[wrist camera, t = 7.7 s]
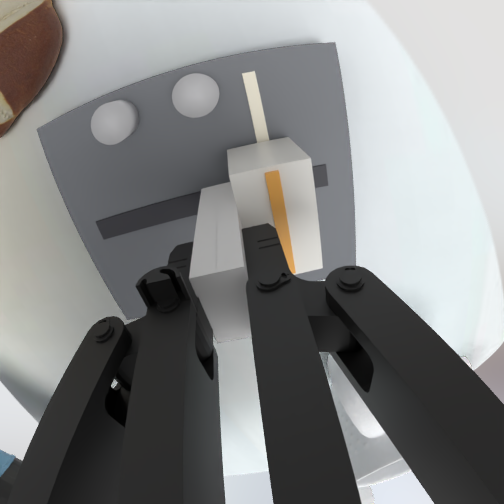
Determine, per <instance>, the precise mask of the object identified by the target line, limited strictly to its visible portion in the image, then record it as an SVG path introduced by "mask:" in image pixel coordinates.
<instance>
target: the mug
mask: <svg viewBox="0 0 504 504" xmlns="http://www.w3.org/2000/svg"><path fill="white" fill-rule="evenodd" d="M327 365H328V370H329V374H330V377H331V380H332V385H331V393H332V397H333V400H334V404H335V407H336V411H337V414H338V417H339V421H340V424H341V428H342V431H343V435H344V439H345V442H346V446H347V449H348V453H349V457H350V460H351V464H352V468H353V472H354V475H355V479H356V483H357V487H358V488H359V487H365V486H370V485H374V484H378V483H381V482H385V481H388V480H391V479H393V478H396V477H399V476H401V475H404V474H406V473H408V472H410V471H412V470H411V469H410V467H409V466H408V465H407V463H406V462H405V460H404V459H403V457H402V456H401V455H400V453H399V452H398V450H397V449H396V447H395V446H394V444H393V443H392V442H391V440H390V439H389V437H388V436H387V434H386V433H385V432H384V430H383V429H382V427H381V426H380V424H379V423H378V422H377V420H376V419H375V417H374V416H373V414H372V413H371V412H370V410H369V409H368V407H367V406H366V404H365V403H364V402H363V400H362V399H361V397H360V396H359V394H358V393H357V392H356V390H355V389H354V387H353V386H352V384H351V383H350V382H349V380H348V379H347V377H346V376H345V374H344V373H343V372H342V370H341V369H340V367H339V366H338V364H337V363H336V362H335V360H334V359H333V357H332V356H331V355H330V354H329V356H328V361H327Z"/></svg>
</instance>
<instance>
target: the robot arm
mask: <svg viewBox="0 0 504 504" xmlns="http://www.w3.org/2000/svg"><path fill="white" fill-rule="evenodd" d="M135 287H136V288H137V290H138V292H139V294H140V296H141V298H142V299H143V301H144V303H145V305H146V307H147V312H146V316H144V317H142V318H140V319H138V320H136V321H133V322H131V323H129V324H126V325H125V324H124V323H123V321H122V320H121V319H120V318H118V317H114V316H113V317H106V318H104V319H102V320H99V321H98V322H97V323H96V324H94V325H93V326H92V327H91V329H90V330H89V331H88V333H87V334H86V336H85V338H84V340H83V341H82V343H81V345H80V346H79V348H78V350H77V352H76V353H75V355H74V357H73V359H72V360H71V362H70V364H69V366H68V368H67V369H66V371H65V373H64V375H63V377H62V379H61V381H60V383H59V384H58V386H57V388H56V390H55V392H54V394H53V396H52V398H51V400H50V402H49V404H48V406H47V408H46V410H45V412H44V414H43V416H42V418H41V421H40V423H39V425H38V427H37V429H36V431H35V434H34V436H33V438H32V440H31V443H30V445H29V447H28V449H27V452H26V454H25V457H24V459H23V461H21V460H19V459H18V458H16V457H15V456H14V455H10V454H8V453H6V452H4V451H2V450H0V504H225V491H224V480H223V479H224V478H223V463H222V446H221V428H220V407H219V382H218V356H217V353H216V350H215V348H214V346H213V335H214V337H215V339H216V341H217V343H221V342H227V341H232V340H237V339H242V338H248V337H252V344H253V352H254V360H255V368H256V376H257V384H258V392H259V399H260V407H261V415H262V422H263V430H264V437H265V445H266V452H267V460H268V467H269V474H270V480H271V488H272V496H273V503H274V504H362V503H361V499H360V495H359V491H358V487H357V483H356V479H355V475H354V472H353V468H352V464H351V460H350V457H349V453H348V449H347V446H346V442H345V439H344V435H343V431H342V428H341V424H340V421H339V417H338V414H337V411H336V407H335V404H334V400H333V397H332V393H331V390H330V387H329V383H328V380H327V377H326V373H325V370H324V367H323V364H322V360H321V357H320V354H319V352H330V355H331V356H332V357H333V359H334V360H335V362H336V363H337V364H338V366H339V367H340V369H341V370H342V372H343V373H344V374H345V376H346V377H347V379H348V380H349V382H350V383H351V384H352V386H353V387H354V389H355V390H356V392H357V393H358V394H359V396H360V397H361V399H362V400H363V402H364V403H365V404H366V406H367V407H368V409H369V410H370V412H371V413H372V414H373V416H374V417H375V419H376V420H377V422H378V423H379V424H380V426H381V427H382V429H383V430H384V432H385V433H386V434H387V436H388V437H389V439H390V440H391V442H392V443H393V444H394V446H395V447H396V449H397V450H398V452H399V453H400V455H401V456H402V457H403V459H404V460H405V462H406V463H407V465H408V466H409V467H410V469H411V470H412V472H413V473H414V474H415V476H416V478H417V479H418V480H419V482H420V483H421V485H422V486H423V488H424V489H425V491H426V492H427V493H428V495H429V496H430V498H431V499H432V501H433V502H434V504H504V404H503V403H502V402H501V401H500V400H499V399H498V397H497V396H496V395H495V394H494V393H493V392H492V391H491V390H490V388H489V387H488V386H487V385H486V384H485V383H484V382H483V381H482V380H481V379H480V378H479V377H478V375H477V374H476V373H475V372H474V371H473V370H472V369H471V368H470V367H469V366H468V365H467V364H466V363H465V362H464V361H463V360H462V359H461V357H460V356H459V355H458V354H457V353H456V352H455V351H454V350H453V349H452V348H451V347H450V346H449V345H448V344H447V343H446V342H445V341H444V340H443V339H442V338H441V337H440V336H439V335H438V334H437V333H436V332H435V331H434V330H433V329H432V328H431V327H430V326H429V325H428V324H427V323H426V322H425V321H424V320H422V319H421V318H420V317H419V316H418V315H417V314H416V313H415V312H414V311H413V310H412V309H411V308H410V307H409V306H408V305H407V304H406V303H405V302H404V301H402V300H401V299H400V298H399V297H398V296H397V295H396V294H395V293H394V292H393V291H392V290H391V289H389V288H388V287H387V286H386V285H385V284H384V283H383V282H382V281H381V280H380V279H378V278H377V277H376V276H375V275H374V274H373V273H372V272H370V271H369V270H367V269H365V268H363V267H359V266H343V267H339V268H336V269H335V270H333V271H332V272H330V273H329V275H328V276H327V277H326V280H325V281H307V280H303V279H300V278H298V277H296V276H295V275H294V274H292V272H291V271H290V269H289V266H288V263H287V260H286V257H285V254H284V251H283V248H282V245H281V242H280V239H279V236H278V233H277V231H276V228H274V227H273V226H272V225H270V224H269V223H266V224H261V225H257V226H252V227H248V228H244V229H243V228H242V224H241V220H240V216H239V212H238V208H237V204H236V202H235V198H234V194H233V190H232V186H231V182H227V183H223V184H219V185H215V186H210V187H206V188H203V189H201V195H200V202H199V208H198V215H197V221H196V228H195V236H194V241H192V242H188V243H184V244H180V245H177V246H176V247H175V248H174V249H173V251H172V252H171V253H170V255H169V260H168V264H167V266H162V267H158V268H155V269H153V270H151V271H149V272H147V273H146V274H144V275H143V276H142V277H141V278H140V279H139V280H138V282H137V284H136V286H135ZM114 379H115V380H116V381H117V382H118V383H117V385H116V386H115V388H112V387H111V384H112V382H113V380H114Z"/></svg>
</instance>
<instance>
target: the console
mask: <svg viewBox="0 0 504 504" xmlns="http://www.w3.org/2000/svg"><path fill="white" fill-rule="evenodd" d="M37 132H38V135H39V138H40V141H41V144H42V146H43V149H44V152H45V155H46V158H47V160H48V163H49V166H50V168H51V171H52V174H53V176H54V179H55V181H56V184H57V186H58V188H59V191H60V193H61V195H62V198H63V200H64V202H65V205H66V207H67V209H68V211H69V214H70V216H71V218H72V220H73V222H74V224H75V226H76V228H77V231H78V233H79V235H80V237H81V239H82V241H83V243H84V245H85V247H86V249H87V251H88V252H89V254H90V256H91V258H92V260H93V262H94V264H95V266H96V268H97V269H98V271H99V273H100V275H101V277H102V278H103V280H104V282H105V284H106V285H107V287H108V289H109V291H110V292H111V294H112V296H113V297H114V299H115V301H116V302H117V304H118V306H119V307H120V309H121V310H122V312H123V314H124V315H125V317H126V318H127V320H129V319H135V318H141V317H144V316H146V312H147V307H146V305H145V303H144V301H143V299H142V298H141V296H140V294H139V292H138V290H137V288H136V287H135V286H136V284H137V282H138V280H139V279H140V278H141V277H142V276H143V275H144V274H146V273H147V272H149V271H151V270H153V269H155V268H158V267H162V266H167V264H168V260H169V255H170V253H171V252H172V251H173V249H174V248H175V247H176V246H177V245H180V244H184V243H188V242H192V241H194V236H195V228H196V221H197V215H198V208H199V202H200V195H201V189H203V188H206V187H210V186H215V185H219V184H223V183H227V182H230V178H229V171H228V157H227V150H228V149H232V148H236V147H241V146H245V145H250V144H255V143H259V142H264V141H269V140H274V139H279V138H285V137H289V138H290V139H291V140H292V141H293V142H294V143H295V144H296V145H298V146H299V147H300V148H301V149H302V150H303V151H304V152H305V153H306V154H307V155H308V156H309V157H310V158H311V162H312V170H313V177H314V185H315V193H316V202H317V211H318V220H319V230H320V240H321V251H322V263H323V268H321V269H317V270H313V271H309V272H304V273H300V274H296V275H295V276H296V277H298V278H300V279H303V280H307V281H319V280H323V279H326V277H327V276H328V275H329V273H330V272H332V271H333V270H335V269H336V268H339V267H343V266H356V239H355V206H354V187H353V172H352V160H351V148H350V138H349V129H348V120H347V112H346V105H345V97H344V91H343V84H342V78H341V72H340V66H339V60H338V55H337V49H336V44H335V42H334V43H318V44H305V45H295V46H287V47H279V48H272V49H265V50H259V51H253V52H247V53H242V54H237V55H232V56H227V57H222V58H218V59H214V60H209V61H205V62H201V63H198V64H194V65H190V66H187V67H183V68H180V69H176V70H173V71H170V72H166V73H163V74H160V75H157V76H154V77H151V78H148V79H145V80H142V81H140V82H137V83H134V84H132V85H129V86H126V87H124V88H121V89H119V90H116V91H114V92H111V93H109V94H107V95H104V96H102V97H100V98H97V99H95V100H93V101H91V102H88V103H86V104H84V105H82V106H80V107H78V108H76V109H74V110H72V111H70V112H68V113H66V114H64V115H62V116H60V117H58V118H56V119H54V120H52V121H51V122H49V123H47V124H45V125H43V126H42V127H40V128H38V129H37Z"/></svg>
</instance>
